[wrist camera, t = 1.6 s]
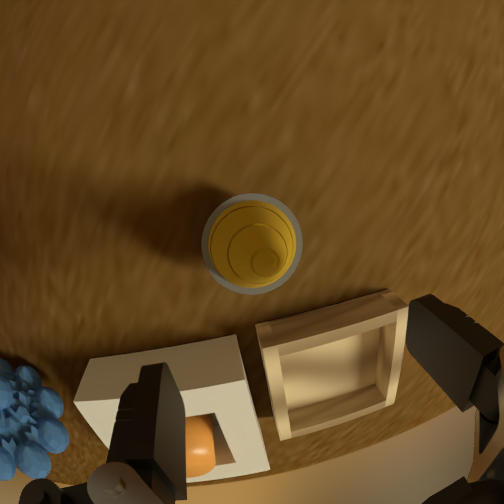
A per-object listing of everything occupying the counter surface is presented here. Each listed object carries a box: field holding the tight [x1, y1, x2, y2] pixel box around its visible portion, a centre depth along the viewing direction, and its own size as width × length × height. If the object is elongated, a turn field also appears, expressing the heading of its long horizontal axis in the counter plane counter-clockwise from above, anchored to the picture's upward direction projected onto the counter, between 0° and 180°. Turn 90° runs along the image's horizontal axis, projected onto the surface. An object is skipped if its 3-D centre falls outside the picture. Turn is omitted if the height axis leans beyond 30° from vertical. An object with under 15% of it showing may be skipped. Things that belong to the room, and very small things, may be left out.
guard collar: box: [73, 334, 270, 483], centre depth 22 cm, size 12×12×5 cm
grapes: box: [0, 358, 69, 481], centre depth 15 cm, size 12×7×12 cm, turn 76°
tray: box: [255, 289, 409, 441], centre depth 23 cm, size 11×11×3 cm
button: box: [186, 413, 216, 478], centre depth 20 cm, size 5×5×4 cm
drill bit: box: [201, 193, 303, 295], centre depth 15 cm, size 5×5×10 cm
